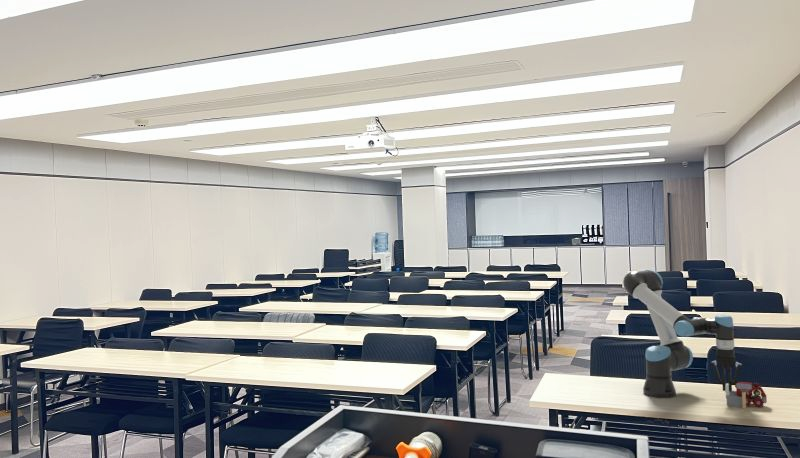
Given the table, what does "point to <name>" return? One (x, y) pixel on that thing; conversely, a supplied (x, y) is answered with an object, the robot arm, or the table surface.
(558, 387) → the table surface
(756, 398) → the toy fire truck
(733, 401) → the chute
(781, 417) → the table surface
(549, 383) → the table surface
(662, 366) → the robot arm
